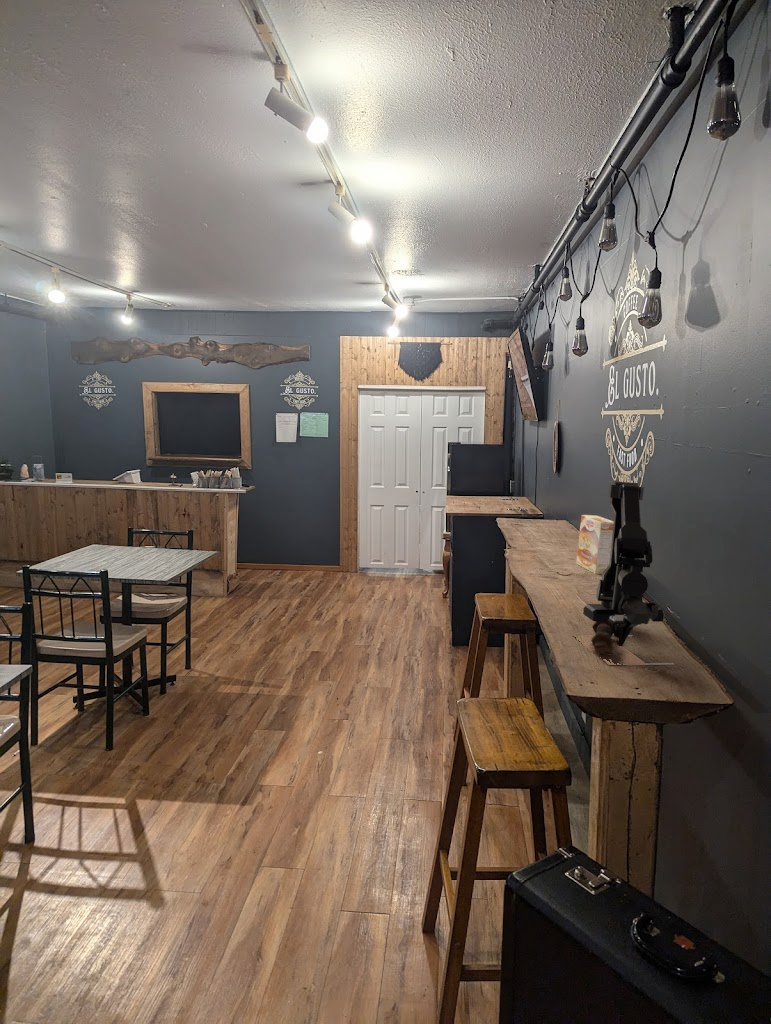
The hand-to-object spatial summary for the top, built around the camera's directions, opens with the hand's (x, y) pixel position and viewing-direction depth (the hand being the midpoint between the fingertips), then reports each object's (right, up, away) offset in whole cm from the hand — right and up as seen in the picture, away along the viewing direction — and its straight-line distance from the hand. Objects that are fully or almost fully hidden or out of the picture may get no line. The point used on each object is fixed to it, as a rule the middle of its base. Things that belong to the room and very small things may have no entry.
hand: (619, 645), depth 155 cm
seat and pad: (0, -1, 0) cm, 1 cm away
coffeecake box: (+21, +11, +82) cm, 85 cm away
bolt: (-4, -1, +2) cm, 4 cm away
